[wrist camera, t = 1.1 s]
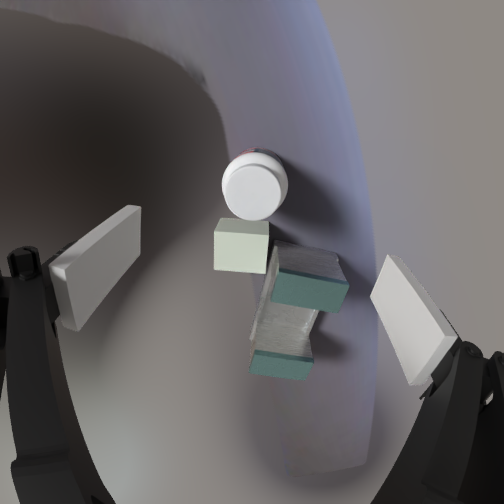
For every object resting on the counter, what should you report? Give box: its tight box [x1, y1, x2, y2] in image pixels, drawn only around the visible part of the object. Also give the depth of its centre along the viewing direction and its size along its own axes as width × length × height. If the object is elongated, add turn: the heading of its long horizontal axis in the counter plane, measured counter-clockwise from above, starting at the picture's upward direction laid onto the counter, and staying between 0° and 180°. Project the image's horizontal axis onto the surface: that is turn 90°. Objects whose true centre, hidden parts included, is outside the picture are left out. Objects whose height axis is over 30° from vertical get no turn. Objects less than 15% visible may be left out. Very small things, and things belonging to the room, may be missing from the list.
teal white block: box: [249, 240, 350, 380], centre depth 30 cm, size 13×7×7 cm, turn 168°
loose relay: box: [214, 218, 269, 274], centre depth 29 cm, size 4×5×4 cm
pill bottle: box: [222, 148, 288, 221], centre depth 23 cm, size 5×5×9 cm
